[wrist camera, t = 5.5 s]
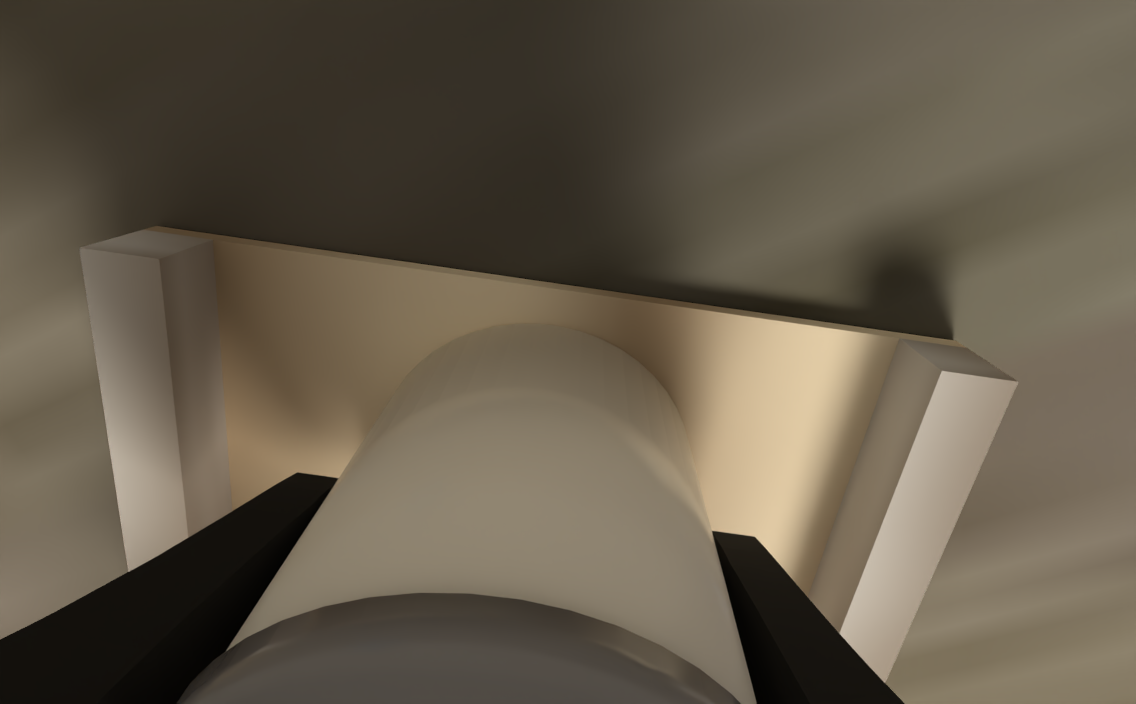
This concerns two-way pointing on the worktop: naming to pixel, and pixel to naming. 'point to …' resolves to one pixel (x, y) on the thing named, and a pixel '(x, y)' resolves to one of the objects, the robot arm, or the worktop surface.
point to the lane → (480, 300)
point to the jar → (502, 547)
